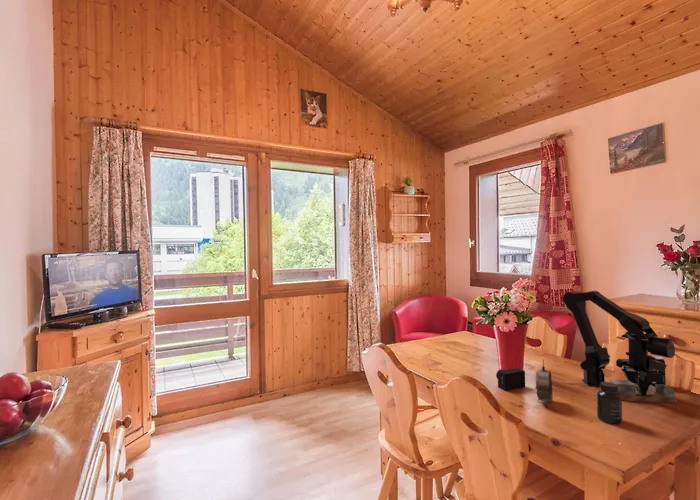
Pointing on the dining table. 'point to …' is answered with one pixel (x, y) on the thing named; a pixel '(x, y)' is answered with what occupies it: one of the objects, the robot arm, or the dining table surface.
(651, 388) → the grey rectangular bar
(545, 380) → the alarm clock
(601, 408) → the supplement bottle
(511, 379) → the digital camera
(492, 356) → the dining table surface
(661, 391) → the tube stand
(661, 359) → the beverage can
